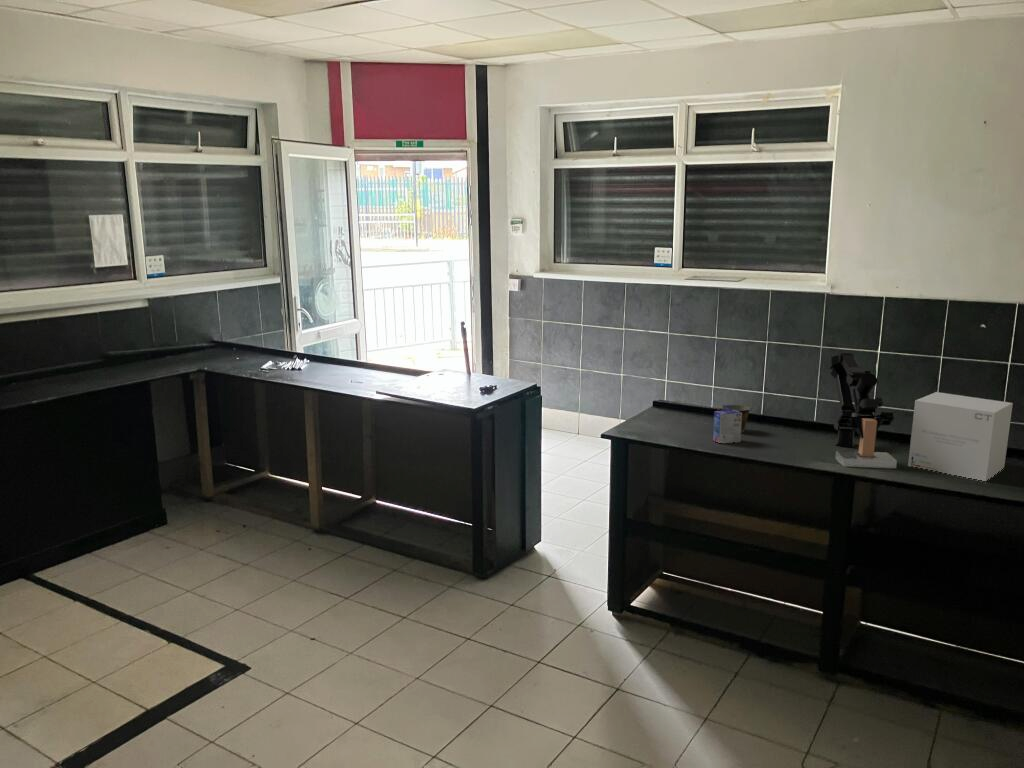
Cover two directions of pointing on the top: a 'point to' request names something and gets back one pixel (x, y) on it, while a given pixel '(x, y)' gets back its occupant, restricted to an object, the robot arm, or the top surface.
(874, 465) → the grey flat block
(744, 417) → the ceramic cup
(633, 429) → the top surface
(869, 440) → the square peg
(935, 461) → the white cardboard box
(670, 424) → the top surface
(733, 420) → the ink cartridge box
